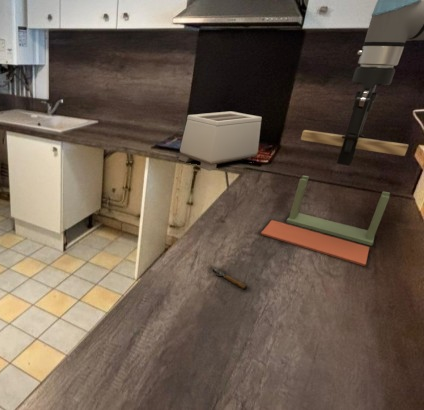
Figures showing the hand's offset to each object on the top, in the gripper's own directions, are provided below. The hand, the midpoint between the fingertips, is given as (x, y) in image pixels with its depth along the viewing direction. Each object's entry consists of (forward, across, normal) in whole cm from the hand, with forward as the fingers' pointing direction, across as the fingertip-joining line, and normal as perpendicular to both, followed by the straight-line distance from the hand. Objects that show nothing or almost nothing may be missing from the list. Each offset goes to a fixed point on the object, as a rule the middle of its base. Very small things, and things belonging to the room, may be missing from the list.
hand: (344, 162), depth 93 cm
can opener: (+22, +40, -11) cm, 47 cm away
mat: (+21, +7, -1) cm, 22 cm away
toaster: (+21, -53, -50) cm, 76 cm away
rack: (+21, -5, +1) cm, 22 cm away
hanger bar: (-4, 0, 0) cm, 4 cm away
